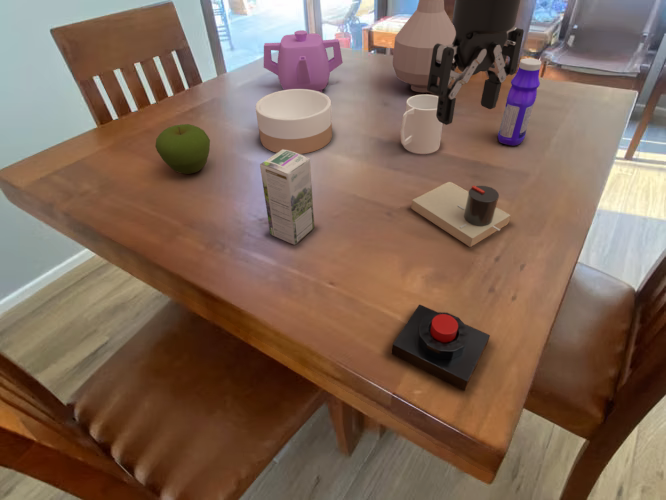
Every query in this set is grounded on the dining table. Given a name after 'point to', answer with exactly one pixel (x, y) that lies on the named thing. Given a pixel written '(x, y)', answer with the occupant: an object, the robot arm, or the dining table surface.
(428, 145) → the cup
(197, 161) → the apple
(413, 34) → the vase
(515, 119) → the bottle
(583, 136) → the dining table surface
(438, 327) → the button
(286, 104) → the bowl
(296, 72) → the teapot
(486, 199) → the hob knob
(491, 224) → the hob panel
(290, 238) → the syrup box
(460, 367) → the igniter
